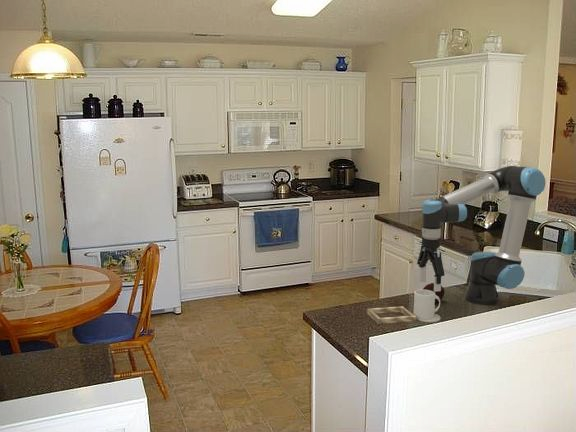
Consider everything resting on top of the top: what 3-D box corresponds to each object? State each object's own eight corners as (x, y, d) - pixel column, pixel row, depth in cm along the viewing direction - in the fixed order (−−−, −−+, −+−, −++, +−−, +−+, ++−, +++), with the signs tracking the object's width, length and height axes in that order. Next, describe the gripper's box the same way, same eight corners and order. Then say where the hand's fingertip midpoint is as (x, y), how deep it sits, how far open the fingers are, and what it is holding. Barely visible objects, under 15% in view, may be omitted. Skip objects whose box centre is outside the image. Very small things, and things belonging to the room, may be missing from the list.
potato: (448, 303, 255) (449, 284, 253) (427, 306, 250) (428, 287, 248) (436, 298, 263) (437, 279, 261) (415, 301, 258) (416, 282, 256)
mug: (444, 318, 233) (446, 294, 231) (419, 320, 230) (420, 296, 228) (434, 311, 241) (435, 288, 239) (409, 313, 238) (410, 290, 236)
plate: (432, 312, 242) (432, 311, 242) (445, 321, 231) (445, 319, 231) (409, 314, 240) (409, 312, 239) (420, 323, 229) (421, 321, 229)
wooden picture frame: (402, 310, 244) (402, 306, 244) (415, 321, 231) (416, 316, 231) (366, 313, 241) (366, 308, 240) (377, 323, 228) (378, 319, 227)
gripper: (410, 232, 241) (409, 278, 244) (437, 244, 217) (435, 296, 220) (425, 231, 242) (424, 277, 246) (454, 243, 218) (452, 294, 222)
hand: (429, 286), depth 233 cm, fingers open, 13 cm apart
